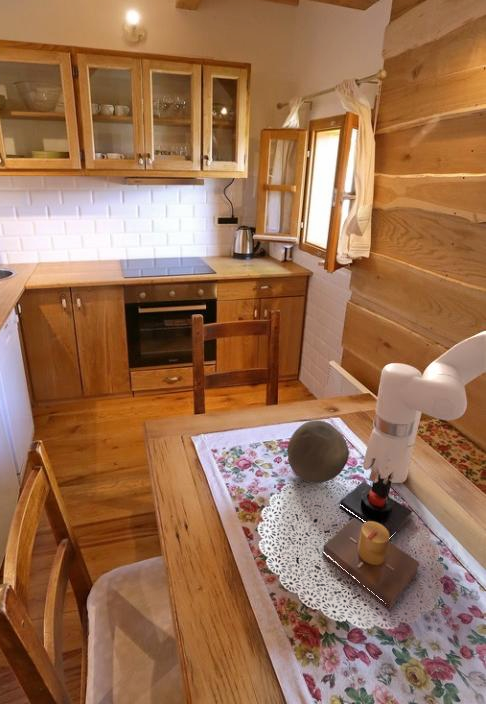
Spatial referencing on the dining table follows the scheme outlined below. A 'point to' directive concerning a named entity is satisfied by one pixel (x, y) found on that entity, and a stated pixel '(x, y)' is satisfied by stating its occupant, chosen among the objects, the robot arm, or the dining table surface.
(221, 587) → the dining table surface
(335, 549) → the knob panel
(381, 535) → the dial knob
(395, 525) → the button box
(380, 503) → the red button
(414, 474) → the dining table surface
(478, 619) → the dining table surface
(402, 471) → the cylindrical container
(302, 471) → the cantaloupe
